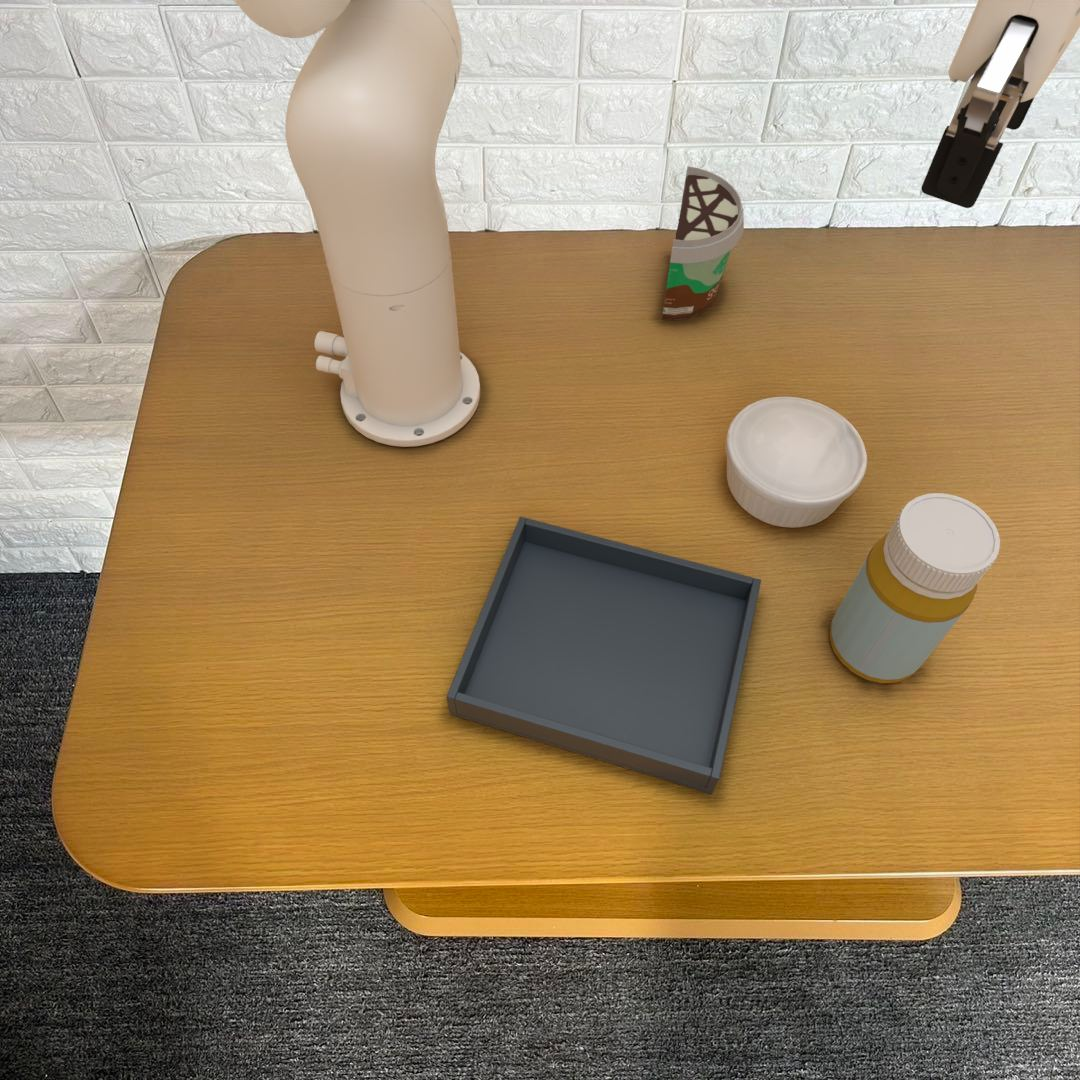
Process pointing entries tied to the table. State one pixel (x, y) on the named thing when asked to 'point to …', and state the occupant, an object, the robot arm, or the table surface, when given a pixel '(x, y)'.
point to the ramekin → (792, 460)
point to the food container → (701, 243)
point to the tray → (609, 653)
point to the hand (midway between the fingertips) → (971, 158)
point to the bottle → (913, 587)
